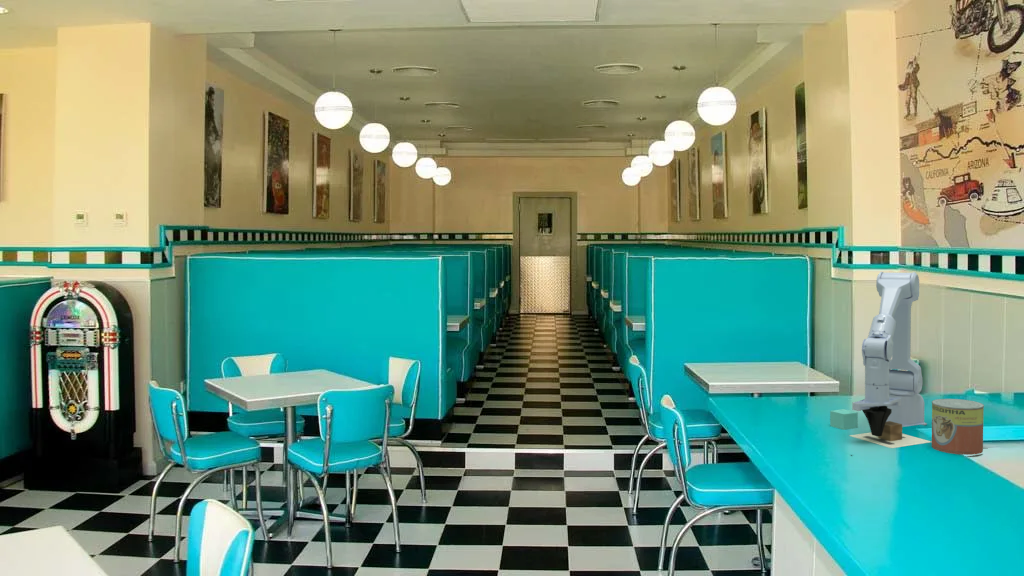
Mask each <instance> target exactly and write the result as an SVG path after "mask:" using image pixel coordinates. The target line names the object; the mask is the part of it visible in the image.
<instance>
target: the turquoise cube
mask: <svg viewBox="0 0 1024 576" xmlns="http://www.w3.org/2000/svg"><path fill="white" fill-rule="evenodd" d="M829 413H830V414H829V415H830V416H829V417H830V418H829V420H830V421H829V422H830V424H829V425H830V427H833V428H836V429H839V430H851V429H852V430H853V429H858V425H859V424H858V422H859V418H858V417H859V415H858V413H859V411H855V410H849V409H845V408H842V409H836V410H835V409H834V410H830V411H829Z"/></svg>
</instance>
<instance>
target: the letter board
mask: <svg viewBox="0 0 1024 576" xmlns="http://www.w3.org/2000/svg"><path fill="white" fill-rule="evenodd" d="M848 436H849V437H852V438H855V439H858V440H862V441H866V442H869V443H873V444H877V445H879V446H882V447H886V448H888V449H895V448H901V447H907V446H908V447H909V446H914V445H922V444H928V443H929V444H930V443H932V440H931V441H930V440H927V439H924V438H920V437H916V436H913V435H909V434H905V433H902V440H895V441H888V440H884V439H881V438H878V436H874V435H872V433H871V431H870V432H866V433H865V432H864V433H858V434H850V435H848Z"/></svg>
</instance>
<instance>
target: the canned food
mask: <svg viewBox="0 0 1024 576" xmlns="http://www.w3.org/2000/svg"><path fill="white" fill-rule="evenodd" d="M984 407H985V405H984V404H983V403H982V402H978V401H974V400H969V399H962V398H961V399H960V398H959V399H958V398H936V399H934V400H932V401H931V441H932V442H931V447H932V449H933V450H935V451H939V452H943V453H947V454H952V455H953V454H955V455H965V456H966V458H978V457H982V456H983V455H984V453H983V452H984Z"/></svg>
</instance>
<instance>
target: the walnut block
mask: <svg viewBox="0 0 1024 576" xmlns="http://www.w3.org/2000/svg"><path fill="white" fill-rule="evenodd" d="M902 434H903V427H902V424H899V423H895V422H891V421H887V422H886V423H885V426H884V429H883V433H882V436H878V438H881V439H884V440H888V441H895V440H902Z"/></svg>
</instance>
